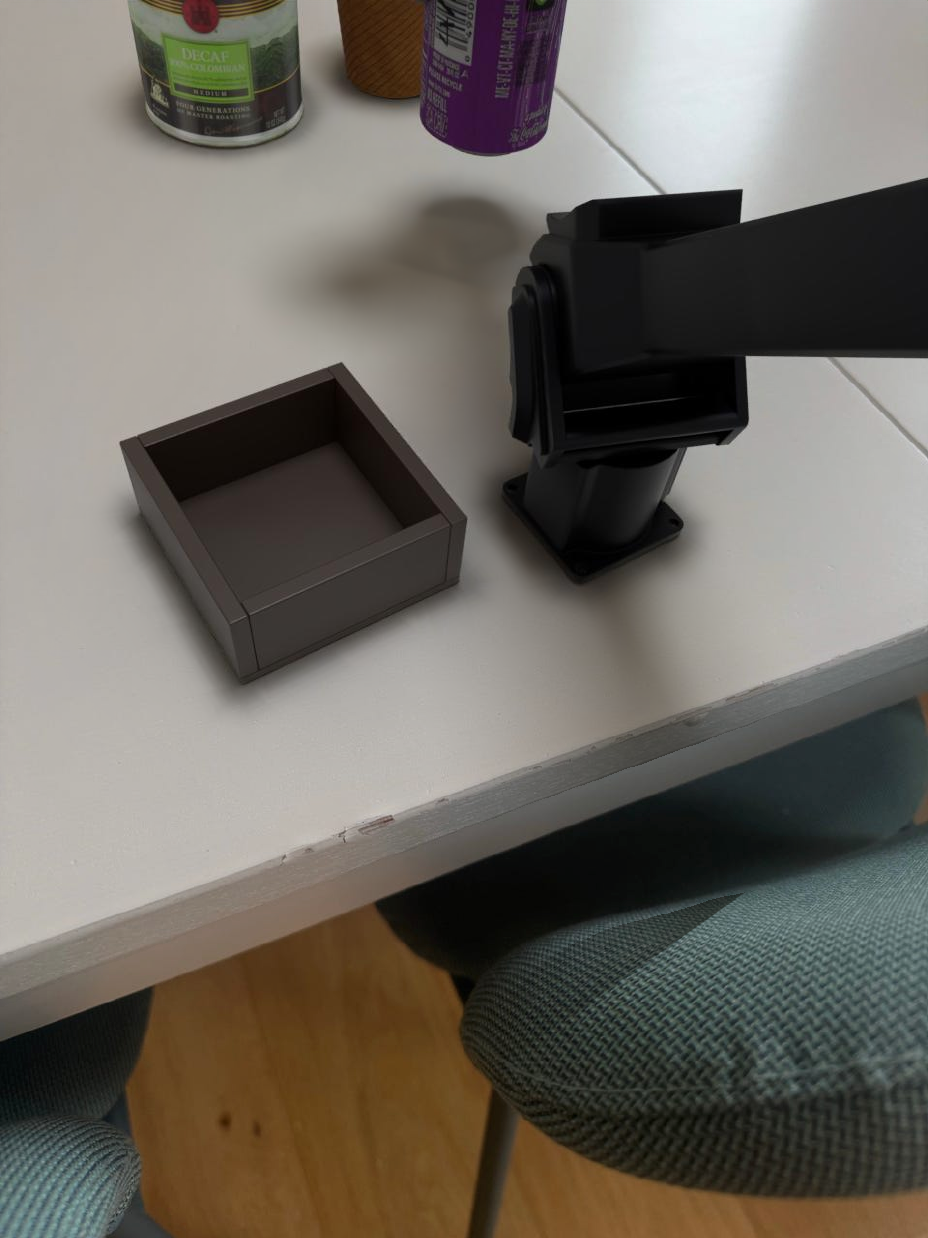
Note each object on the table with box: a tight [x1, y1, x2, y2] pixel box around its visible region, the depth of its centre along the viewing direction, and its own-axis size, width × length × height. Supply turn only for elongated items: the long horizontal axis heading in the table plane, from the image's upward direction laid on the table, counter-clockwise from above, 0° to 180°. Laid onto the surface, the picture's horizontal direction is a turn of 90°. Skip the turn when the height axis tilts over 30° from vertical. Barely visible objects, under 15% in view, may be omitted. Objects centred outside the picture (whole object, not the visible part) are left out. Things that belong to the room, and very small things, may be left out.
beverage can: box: [419, 0, 568, 158], centre depth 48 cm, size 7×7×12 cm
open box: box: [118, 361, 469, 685], centre depth 41 cm, size 11×11×4 cm
